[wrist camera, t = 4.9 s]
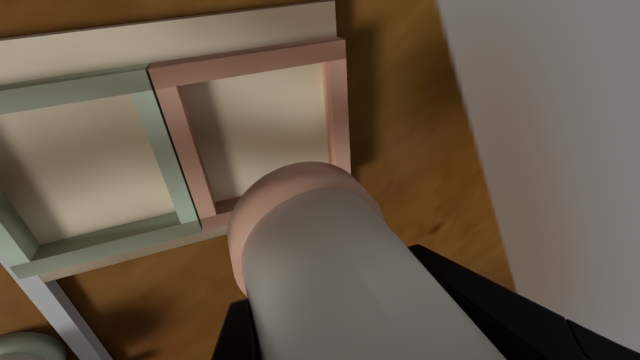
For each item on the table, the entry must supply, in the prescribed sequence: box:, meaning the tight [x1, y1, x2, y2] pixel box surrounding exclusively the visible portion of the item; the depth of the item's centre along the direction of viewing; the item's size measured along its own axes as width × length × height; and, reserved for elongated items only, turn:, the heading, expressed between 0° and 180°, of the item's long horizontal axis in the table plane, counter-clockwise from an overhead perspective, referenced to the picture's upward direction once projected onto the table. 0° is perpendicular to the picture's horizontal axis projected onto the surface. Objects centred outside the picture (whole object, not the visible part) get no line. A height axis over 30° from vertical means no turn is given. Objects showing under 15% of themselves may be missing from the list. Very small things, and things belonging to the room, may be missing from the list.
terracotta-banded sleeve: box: [227, 161, 506, 360], centre depth 8 cm, size 4×4×6 cm
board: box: [0, 0, 351, 282], centre depth 16 cm, size 11×16×2 cm
